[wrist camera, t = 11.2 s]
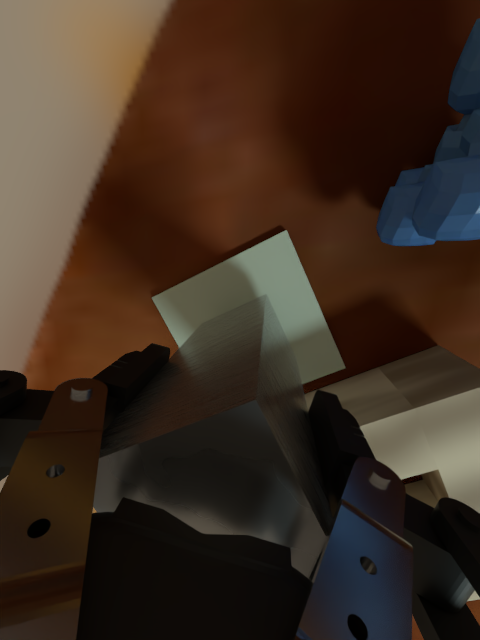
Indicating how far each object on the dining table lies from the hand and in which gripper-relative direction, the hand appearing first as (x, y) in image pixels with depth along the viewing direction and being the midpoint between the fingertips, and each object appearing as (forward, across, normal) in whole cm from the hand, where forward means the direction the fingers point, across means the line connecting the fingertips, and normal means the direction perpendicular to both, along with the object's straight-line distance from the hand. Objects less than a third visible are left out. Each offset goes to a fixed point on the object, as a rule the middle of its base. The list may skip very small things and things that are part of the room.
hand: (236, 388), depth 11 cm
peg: (+6, 0, 0) cm, 6 cm away
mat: (+8, 0, 0) cm, 8 cm away
